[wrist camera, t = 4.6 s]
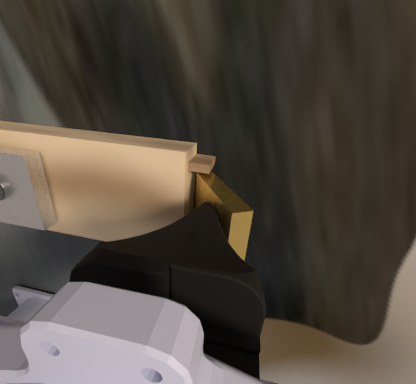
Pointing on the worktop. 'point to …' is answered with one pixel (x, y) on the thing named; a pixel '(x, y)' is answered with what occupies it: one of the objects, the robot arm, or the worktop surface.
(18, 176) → the lever cap
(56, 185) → the board
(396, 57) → the worktop surface
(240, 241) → the lever
